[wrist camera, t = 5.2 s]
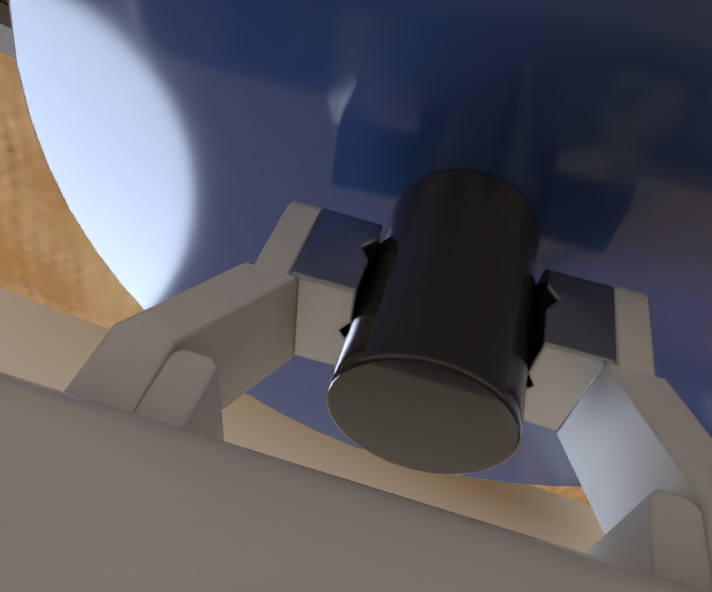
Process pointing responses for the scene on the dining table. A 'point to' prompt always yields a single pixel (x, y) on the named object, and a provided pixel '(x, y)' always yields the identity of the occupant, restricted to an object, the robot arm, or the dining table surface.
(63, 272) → the dining table surface
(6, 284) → the dining table surface
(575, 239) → the lid
